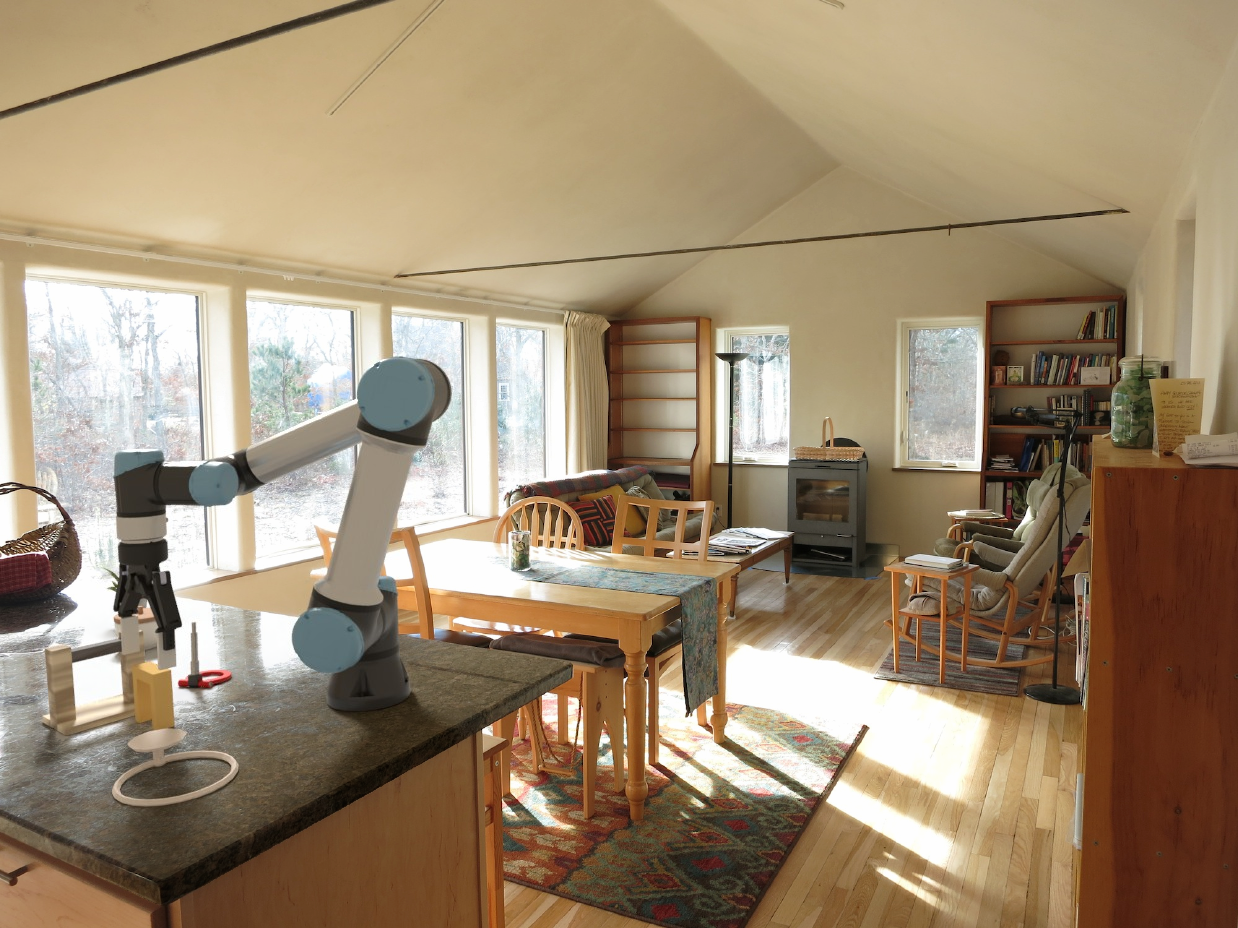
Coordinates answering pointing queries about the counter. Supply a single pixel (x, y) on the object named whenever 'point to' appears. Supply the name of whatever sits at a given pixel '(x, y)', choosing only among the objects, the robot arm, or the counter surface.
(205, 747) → the counter surface
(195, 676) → the tow hook
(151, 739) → the hand towel holder
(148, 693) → the yellow u-shaped bracket
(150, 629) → the lidded jar
